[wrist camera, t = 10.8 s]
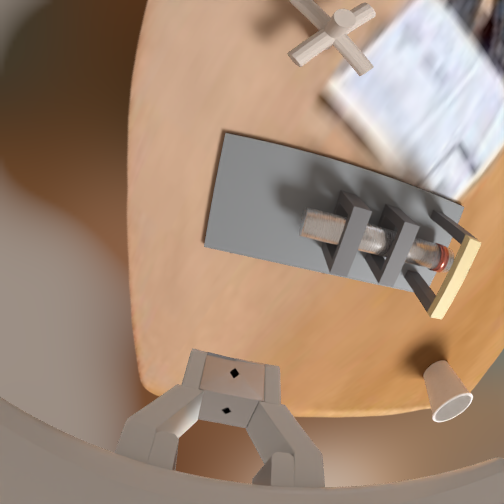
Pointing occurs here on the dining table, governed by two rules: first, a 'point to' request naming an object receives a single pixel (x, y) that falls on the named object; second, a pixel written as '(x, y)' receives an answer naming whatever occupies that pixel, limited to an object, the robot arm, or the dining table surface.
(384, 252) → the tube
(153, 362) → the dining table surface
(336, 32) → the pipe connector
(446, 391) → the dixie cup
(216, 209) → the collar board
